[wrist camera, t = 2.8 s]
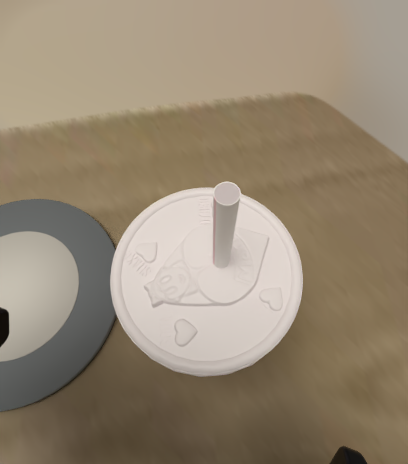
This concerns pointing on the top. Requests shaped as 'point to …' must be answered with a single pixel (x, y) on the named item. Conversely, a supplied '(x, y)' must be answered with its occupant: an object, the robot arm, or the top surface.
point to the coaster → (51, 297)
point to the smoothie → (206, 281)
